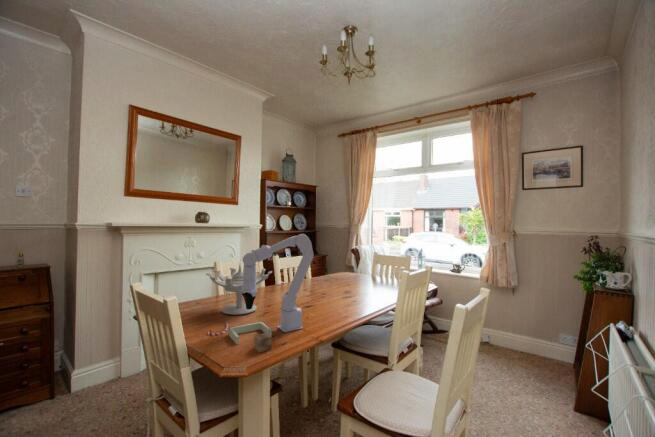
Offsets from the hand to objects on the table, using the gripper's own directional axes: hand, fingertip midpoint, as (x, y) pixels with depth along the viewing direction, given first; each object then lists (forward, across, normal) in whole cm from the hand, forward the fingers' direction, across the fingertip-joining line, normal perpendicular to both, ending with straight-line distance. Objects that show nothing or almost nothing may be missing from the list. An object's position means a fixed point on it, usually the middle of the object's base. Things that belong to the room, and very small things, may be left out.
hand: (249, 308), depth 134 cm
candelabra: (+10, -30, +5) cm, 32 cm away
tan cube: (+10, +22, -2) cm, 24 cm away
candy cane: (+10, -7, -11) cm, 17 cm away
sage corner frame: (+9, +8, -2) cm, 13 cm away
